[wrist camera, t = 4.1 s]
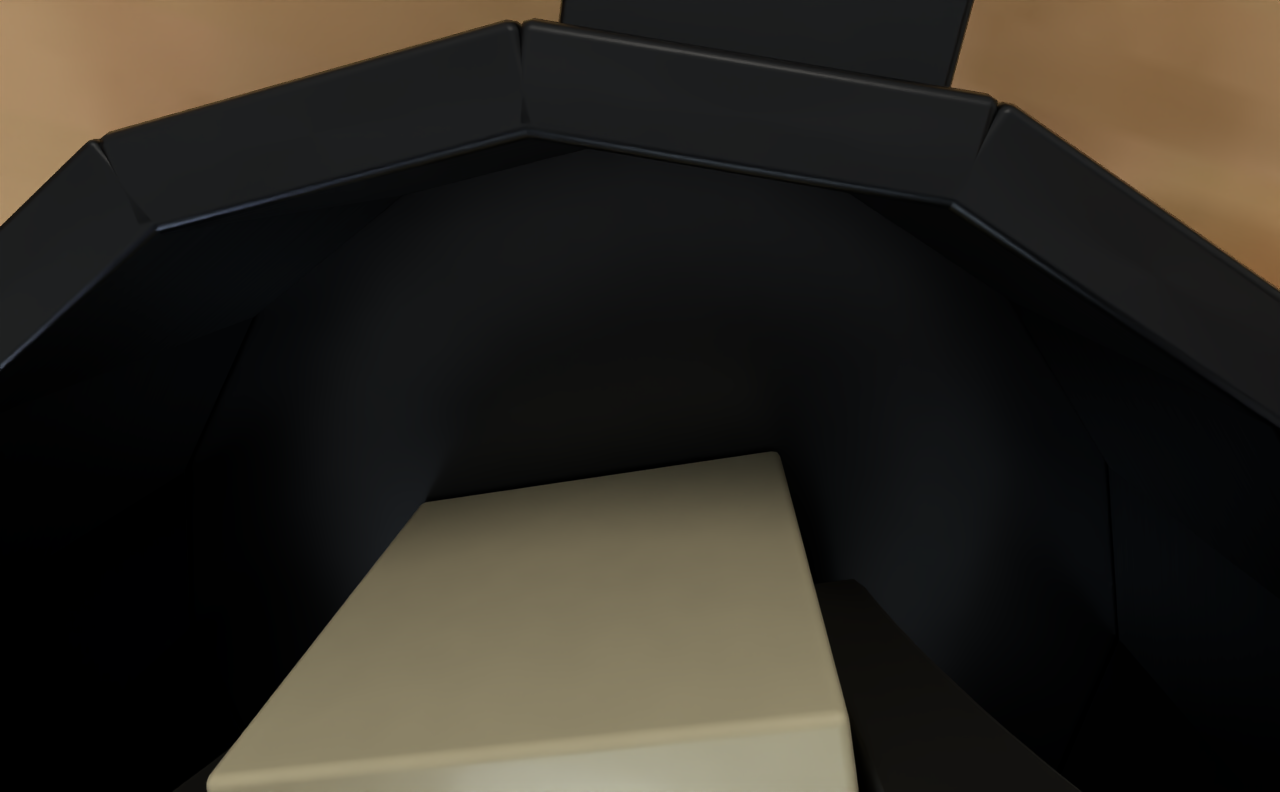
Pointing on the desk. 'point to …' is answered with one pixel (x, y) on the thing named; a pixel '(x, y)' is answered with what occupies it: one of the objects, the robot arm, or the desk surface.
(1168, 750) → the pan
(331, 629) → the tofu
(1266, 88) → the desk surface
